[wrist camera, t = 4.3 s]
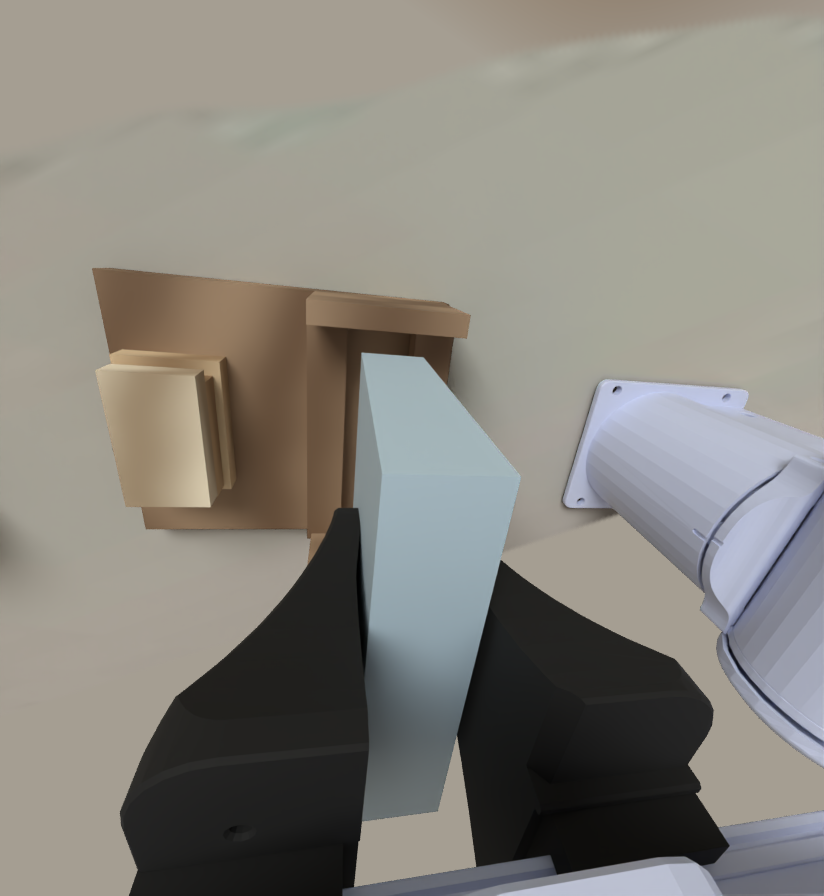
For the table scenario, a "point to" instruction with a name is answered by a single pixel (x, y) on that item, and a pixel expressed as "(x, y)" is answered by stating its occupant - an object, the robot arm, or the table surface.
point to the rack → (276, 381)
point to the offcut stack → (169, 427)
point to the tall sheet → (421, 571)
